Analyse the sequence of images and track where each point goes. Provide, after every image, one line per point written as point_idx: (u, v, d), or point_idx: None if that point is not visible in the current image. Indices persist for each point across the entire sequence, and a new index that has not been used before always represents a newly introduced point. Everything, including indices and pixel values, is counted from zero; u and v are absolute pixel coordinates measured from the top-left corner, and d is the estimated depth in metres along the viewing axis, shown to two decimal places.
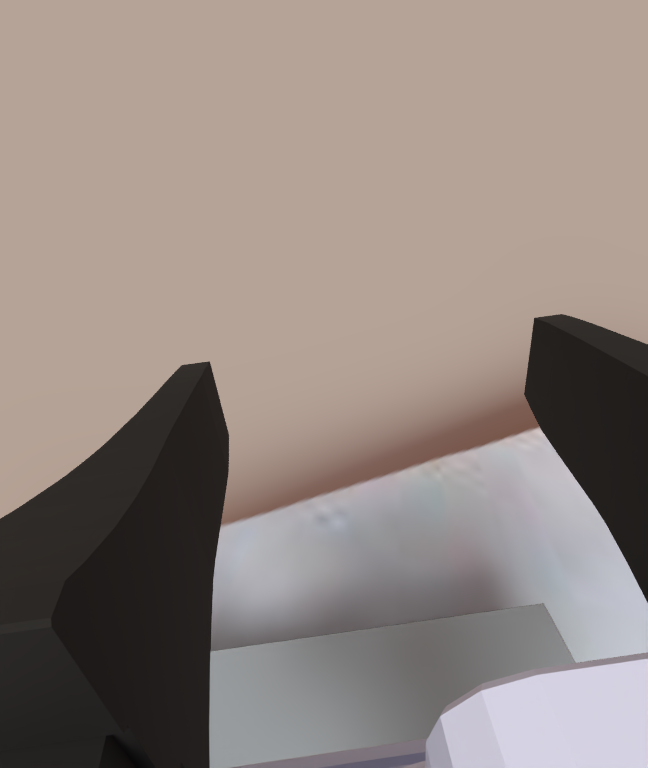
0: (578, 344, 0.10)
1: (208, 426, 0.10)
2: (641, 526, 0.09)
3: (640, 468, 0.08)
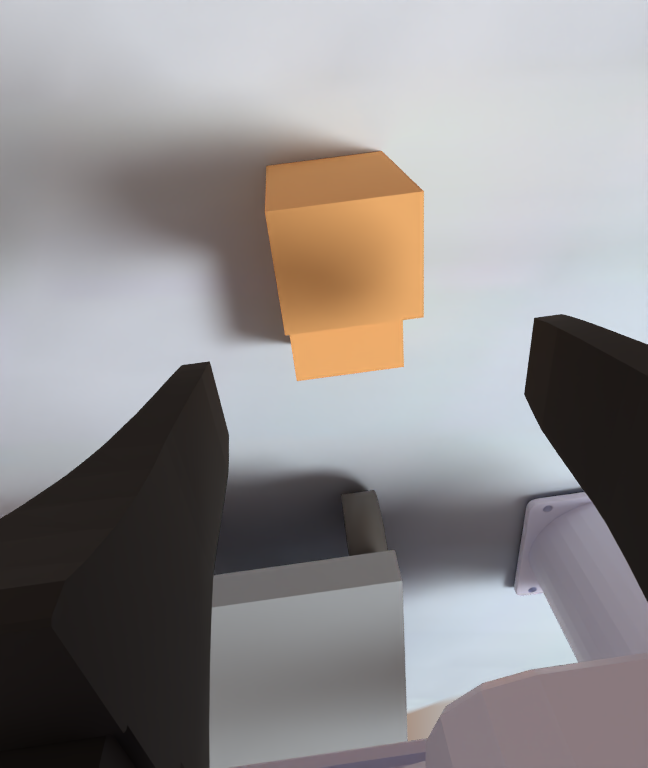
0: (578, 344, 0.10)
1: (208, 426, 0.10)
2: (641, 526, 0.09)
3: (640, 469, 0.08)
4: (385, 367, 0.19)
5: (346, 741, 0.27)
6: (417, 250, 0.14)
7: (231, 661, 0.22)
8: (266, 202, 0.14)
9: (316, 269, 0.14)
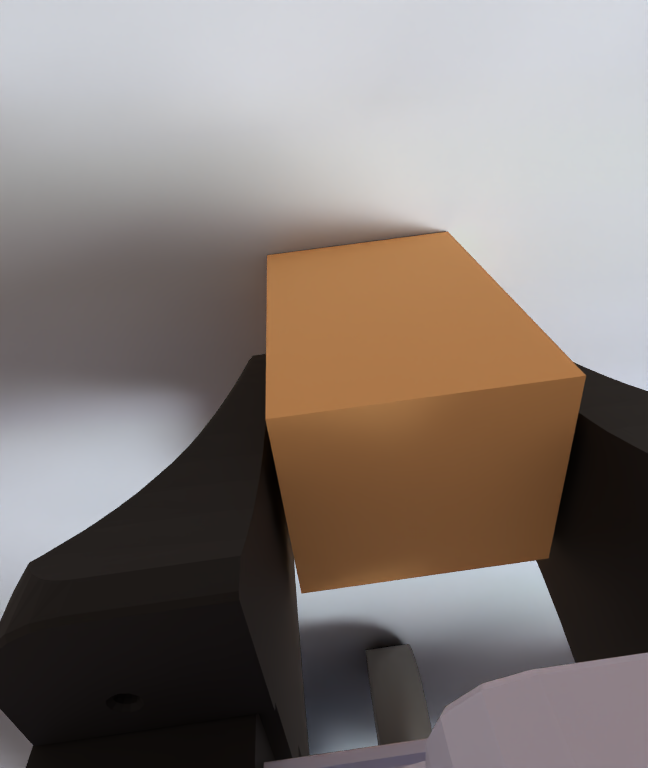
0: None
1: None
2: None
3: None
4: None
5: None
6: (555, 467, 0.07)
7: None
8: (268, 379, 0.07)
9: (362, 502, 0.07)
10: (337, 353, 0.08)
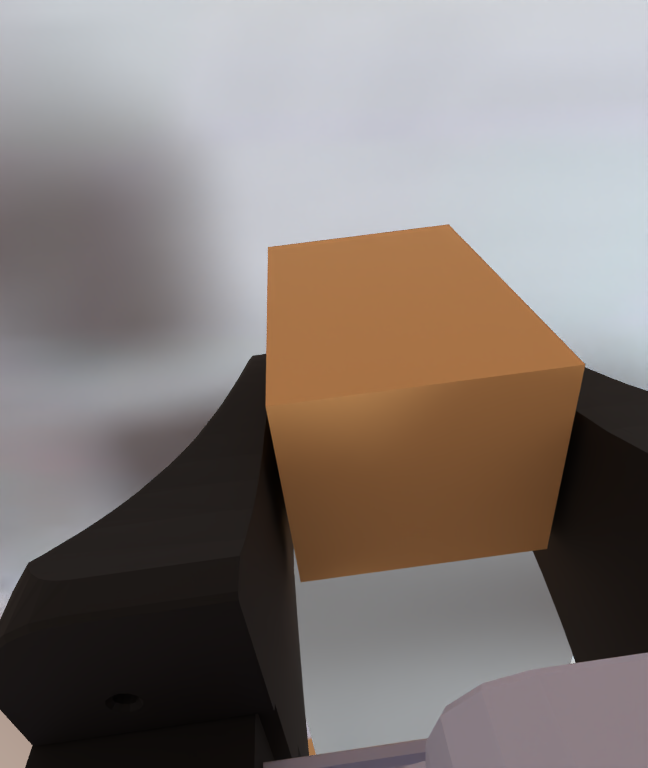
0: None
1: None
2: (550, 539, 0.09)
3: None
4: None
5: None
6: (554, 456, 0.07)
7: (396, 588, 0.19)
8: (268, 368, 0.07)
9: (362, 491, 0.07)
10: (337, 342, 0.08)
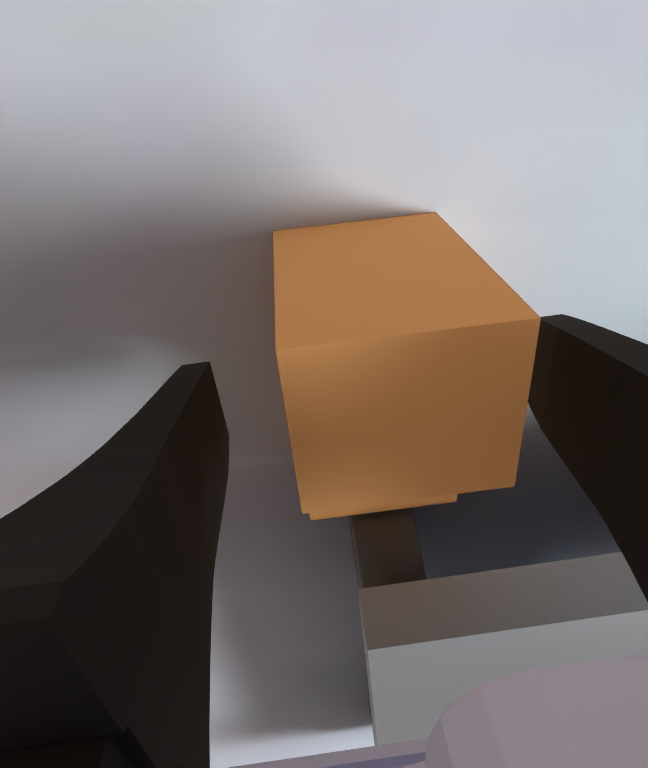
0: (578, 344, 0.10)
1: (209, 427, 0.10)
2: (641, 526, 0.09)
3: (640, 469, 0.08)
4: (431, 502, 0.14)
5: None
6: (518, 400, 0.09)
7: None
8: (277, 322, 0.08)
9: (355, 428, 0.09)
10: (335, 303, 0.09)
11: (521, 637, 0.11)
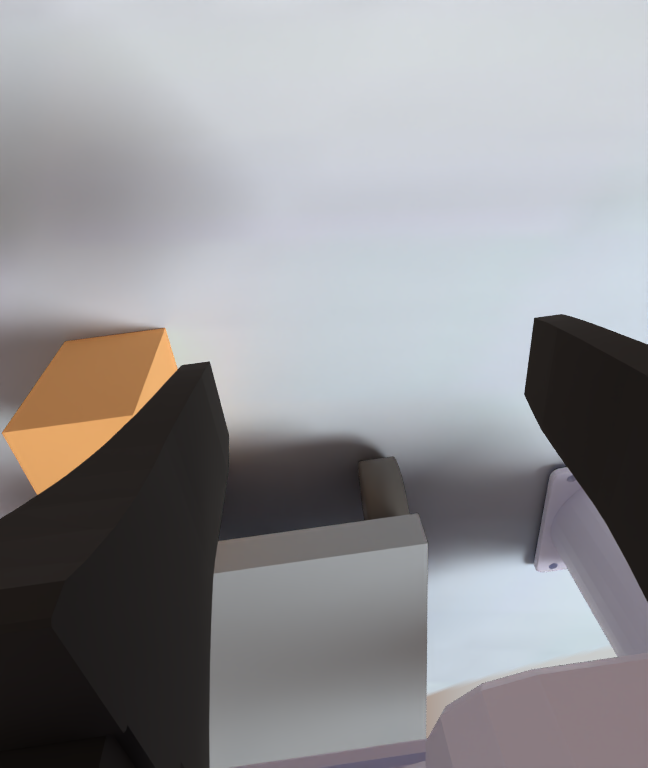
0: (578, 344, 0.10)
1: (208, 427, 0.10)
2: (641, 526, 0.09)
3: (640, 468, 0.08)
4: None
5: (362, 720, 0.26)
6: None
7: (246, 631, 0.21)
8: (14, 415, 0.17)
9: (58, 468, 0.17)
10: (51, 402, 0.17)
11: None
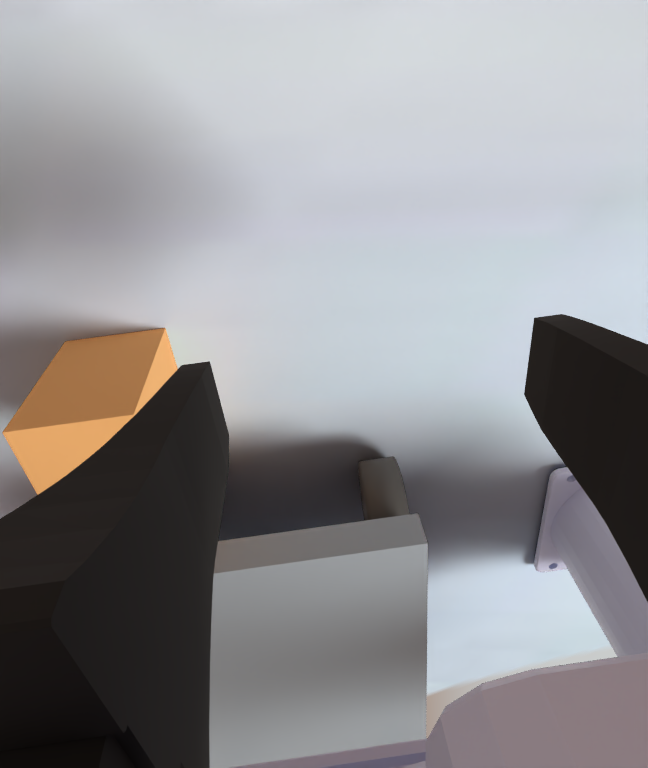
0: (578, 344, 0.10)
1: (208, 427, 0.10)
2: (641, 526, 0.09)
3: (640, 468, 0.08)
4: None
5: (362, 720, 0.26)
6: None
7: (246, 631, 0.21)
8: (15, 415, 0.17)
9: (59, 468, 0.17)
10: (52, 402, 0.17)
11: None
